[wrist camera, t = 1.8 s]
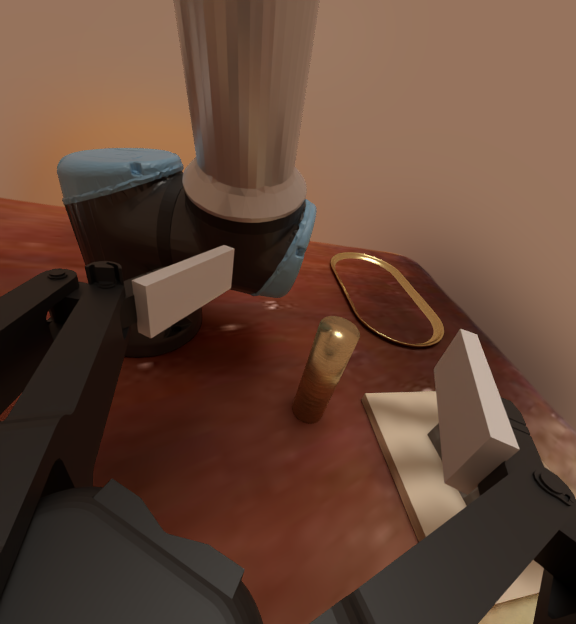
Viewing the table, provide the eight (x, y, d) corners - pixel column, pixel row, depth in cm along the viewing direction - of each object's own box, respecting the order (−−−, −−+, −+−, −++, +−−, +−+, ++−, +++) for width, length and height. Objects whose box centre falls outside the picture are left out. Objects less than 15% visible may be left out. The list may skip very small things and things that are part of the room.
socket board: (361, 399, 37) (376, 375, 34) (478, 395, 42) (501, 373, 38) (448, 615, 22) (491, 609, 19) (616, 571, 27) (675, 560, 23)
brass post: (290, 395, 36) (315, 315, 27) (318, 394, 37) (351, 316, 28) (295, 424, 33) (325, 344, 24) (326, 422, 34) (366, 344, 25)
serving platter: (383, 260, 77) (386, 255, 76) (459, 352, 50) (464, 347, 49) (321, 254, 73) (323, 249, 72) (368, 350, 46) (371, 344, 45)
